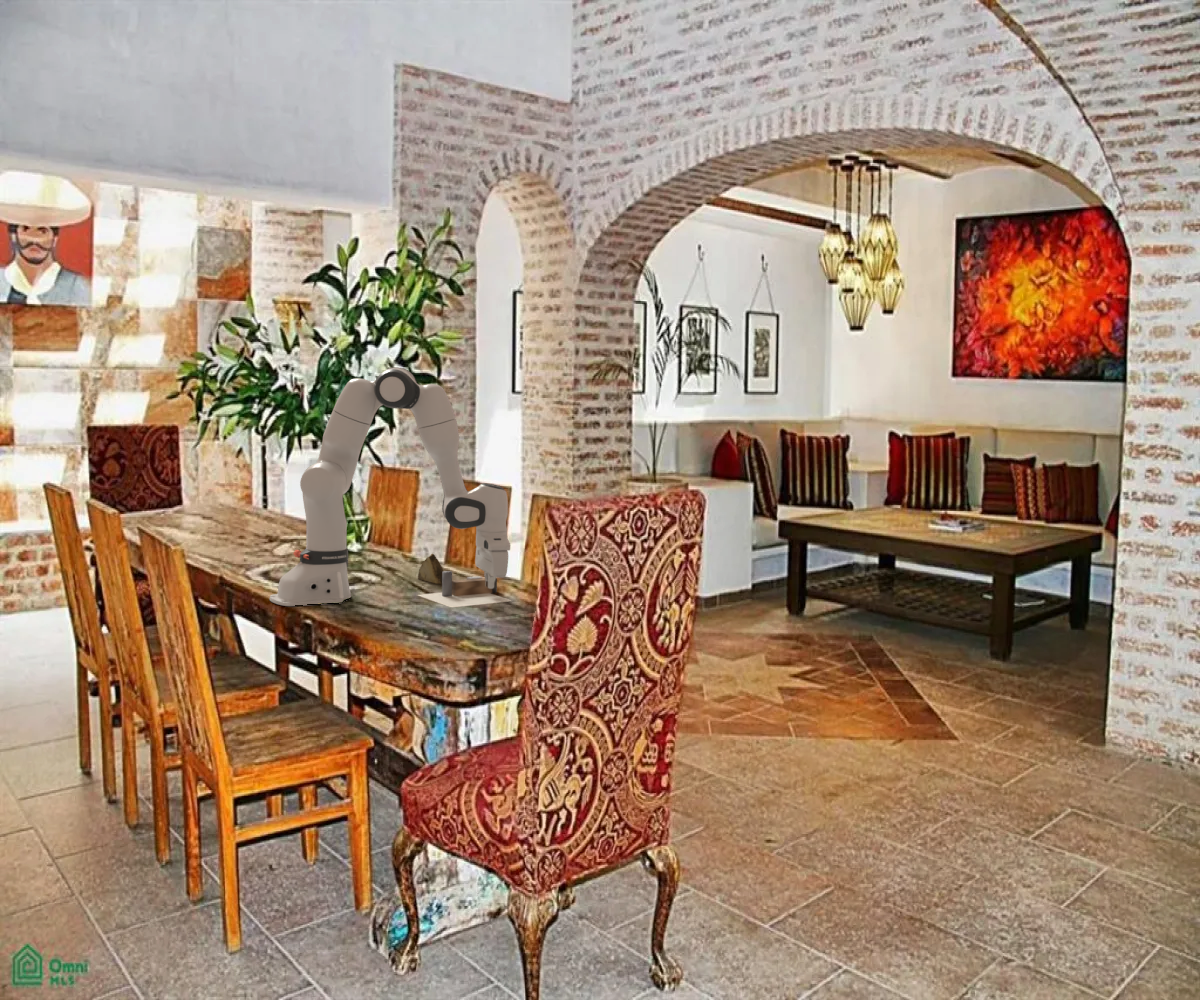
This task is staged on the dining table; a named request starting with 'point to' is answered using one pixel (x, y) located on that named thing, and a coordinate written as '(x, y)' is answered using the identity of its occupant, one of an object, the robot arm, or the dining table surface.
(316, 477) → the robot arm
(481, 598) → the wall mounted roll holder
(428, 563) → the rock
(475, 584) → the leg
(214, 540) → the dining table surface
